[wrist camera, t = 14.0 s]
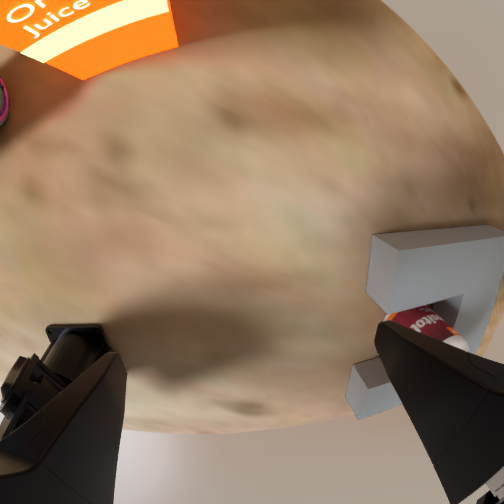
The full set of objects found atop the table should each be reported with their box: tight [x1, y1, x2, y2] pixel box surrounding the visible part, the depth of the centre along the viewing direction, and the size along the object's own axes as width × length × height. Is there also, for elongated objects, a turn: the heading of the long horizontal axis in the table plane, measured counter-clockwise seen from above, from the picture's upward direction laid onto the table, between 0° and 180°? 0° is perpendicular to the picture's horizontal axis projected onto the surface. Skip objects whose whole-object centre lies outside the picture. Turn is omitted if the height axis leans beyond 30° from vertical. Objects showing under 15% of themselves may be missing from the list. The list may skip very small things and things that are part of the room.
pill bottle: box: [383, 305, 469, 352], centre depth 22 cm, size 6×6×11 cm
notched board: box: [345, 225, 504, 420], centre depth 25 cm, size 18×20×4 cm
